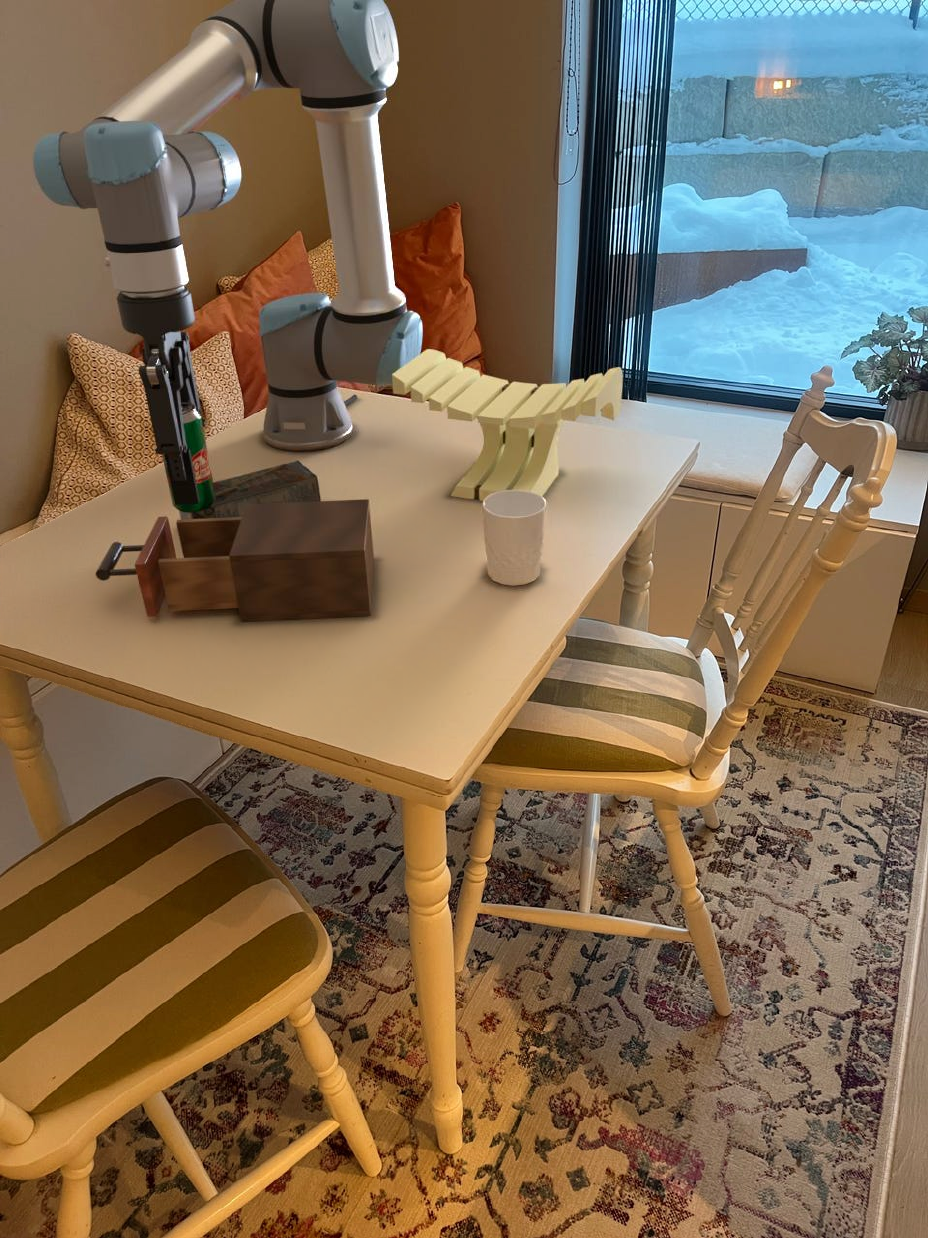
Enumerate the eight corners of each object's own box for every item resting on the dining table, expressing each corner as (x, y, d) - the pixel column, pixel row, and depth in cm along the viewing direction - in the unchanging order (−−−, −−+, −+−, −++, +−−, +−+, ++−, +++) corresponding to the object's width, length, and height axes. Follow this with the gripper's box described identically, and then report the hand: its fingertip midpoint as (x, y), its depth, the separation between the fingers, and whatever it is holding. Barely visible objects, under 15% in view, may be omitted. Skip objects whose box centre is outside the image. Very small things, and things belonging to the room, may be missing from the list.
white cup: (474, 565, 123) (472, 496, 117) (528, 553, 125) (529, 484, 120) (498, 593, 116) (497, 522, 111) (554, 580, 119) (557, 509, 113)
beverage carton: (180, 527, 134) (171, 485, 130) (305, 496, 142) (300, 455, 138) (197, 549, 128) (188, 506, 124) (326, 515, 136) (321, 473, 132)
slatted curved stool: (616, 473, 146) (624, 360, 136) (589, 516, 134) (596, 396, 124) (439, 449, 156) (435, 343, 146) (399, 488, 143) (391, 374, 134)
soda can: (205, 516, 109) (187, 417, 102) (165, 513, 109) (144, 415, 103) (223, 497, 113) (206, 401, 106) (184, 495, 114) (165, 399, 107)
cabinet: (240, 622, 112) (228, 555, 107) (256, 566, 124) (246, 504, 119) (370, 616, 113) (364, 549, 108) (374, 561, 124) (368, 498, 119)
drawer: (98, 619, 112) (83, 566, 108) (124, 568, 122) (112, 518, 118) (268, 611, 112) (259, 558, 108) (280, 561, 123) (272, 511, 119)
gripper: (137, 270, 105) (176, 463, 118) (91, 313, 90) (142, 528, 102) (204, 268, 105) (236, 460, 118) (170, 310, 90) (210, 525, 103)
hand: (192, 491), depth 110 cm, fingers closed on soda can, 5 cm apart
